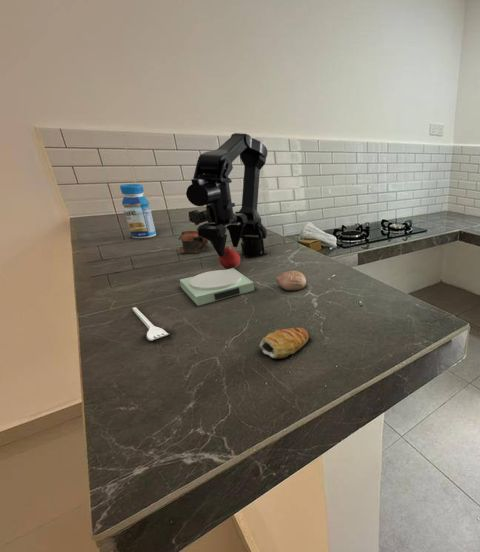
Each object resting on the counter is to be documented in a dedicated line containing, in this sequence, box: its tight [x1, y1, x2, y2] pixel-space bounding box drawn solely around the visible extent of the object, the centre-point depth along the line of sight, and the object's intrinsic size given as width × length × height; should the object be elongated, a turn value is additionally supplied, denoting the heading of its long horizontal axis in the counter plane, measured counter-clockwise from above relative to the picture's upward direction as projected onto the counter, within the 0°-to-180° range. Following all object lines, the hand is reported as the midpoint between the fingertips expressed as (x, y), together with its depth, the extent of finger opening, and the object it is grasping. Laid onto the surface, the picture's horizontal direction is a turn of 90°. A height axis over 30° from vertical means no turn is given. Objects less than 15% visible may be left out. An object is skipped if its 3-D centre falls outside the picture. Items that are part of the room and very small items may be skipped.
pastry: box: [259, 327, 310, 359], centre depth 65 cm, size 9×7×4 cm
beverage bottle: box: [119, 183, 157, 239], centre depth 126 cm, size 8×8×20 cm
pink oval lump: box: [275, 269, 307, 292], centre depth 92 cm, size 8×6×8 cm
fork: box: [132, 306, 170, 341], centre depth 70 cm, size 3×20×2 cm, turn 51°
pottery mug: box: [178, 230, 209, 254], centre depth 117 cm, size 12×10×8 cm
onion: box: [218, 245, 241, 270], centre depth 100 cm, size 6×6×8 cm
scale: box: [179, 268, 255, 306], centre depth 88 cm, size 14×14×3 cm
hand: (228, 251), depth 99 cm, fingers open, 9 cm apart
